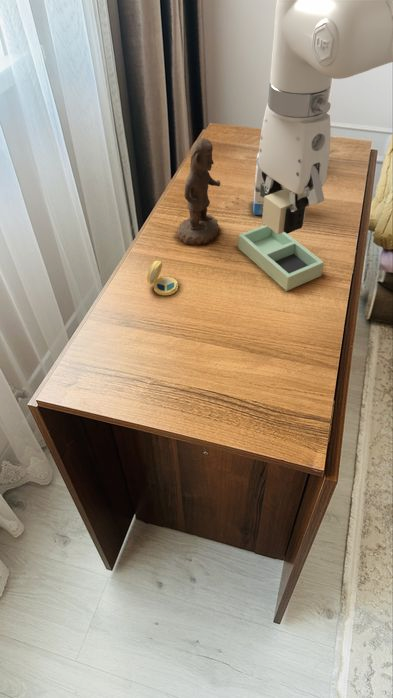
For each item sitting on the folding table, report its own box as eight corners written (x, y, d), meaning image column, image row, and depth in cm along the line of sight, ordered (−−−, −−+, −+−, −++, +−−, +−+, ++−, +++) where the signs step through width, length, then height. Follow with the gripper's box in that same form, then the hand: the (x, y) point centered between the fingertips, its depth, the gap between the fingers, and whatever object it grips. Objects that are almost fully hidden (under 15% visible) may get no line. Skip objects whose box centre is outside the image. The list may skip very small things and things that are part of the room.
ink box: (252, 215, 106) (256, 163, 97) (253, 203, 109) (256, 151, 101) (293, 217, 105) (301, 164, 96) (292, 204, 108) (300, 152, 100)
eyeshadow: (170, 298, 88) (169, 276, 85) (146, 290, 90) (143, 268, 86) (182, 283, 91) (181, 261, 87) (158, 276, 93) (156, 254, 89)
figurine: (204, 250, 98) (203, 151, 83) (172, 240, 100) (165, 142, 86) (225, 227, 103) (228, 131, 88) (193, 218, 106) (191, 123, 91)
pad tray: (271, 235, 101) (272, 221, 99) (321, 275, 92) (324, 262, 89) (238, 247, 98) (238, 234, 96) (286, 291, 89) (288, 277, 87)
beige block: (303, 224, 77) (307, 198, 73) (277, 234, 75) (280, 208, 72) (287, 212, 79) (290, 186, 76) (261, 222, 77) (264, 196, 74)
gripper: (367, 113, 60) (338, 241, 73) (280, 73, 70) (269, 192, 83) (319, 129, 57) (298, 258, 71) (236, 84, 67) (232, 205, 80)
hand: (283, 221), depth 77 cm, fingers closed on beige block, 4 cm apart
